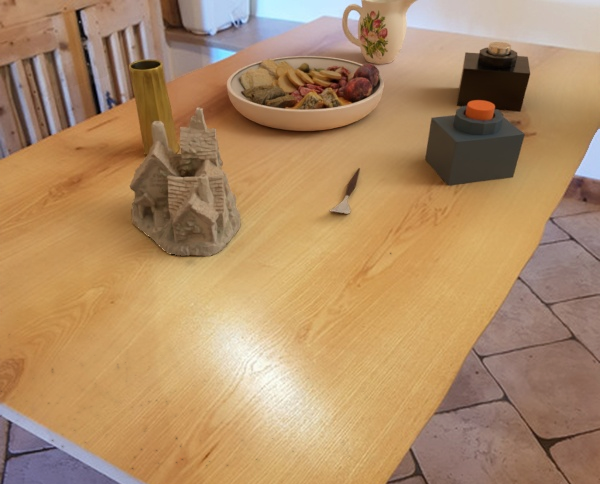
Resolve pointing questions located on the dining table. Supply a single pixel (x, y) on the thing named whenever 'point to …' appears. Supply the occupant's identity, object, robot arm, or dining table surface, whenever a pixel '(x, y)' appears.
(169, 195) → the ceramic cottage
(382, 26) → the pitcher
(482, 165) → the button housing
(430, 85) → the dining table surface
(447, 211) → the dining table surface
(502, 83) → the base unit
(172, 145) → the vase
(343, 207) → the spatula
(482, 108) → the orange push button
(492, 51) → the power button
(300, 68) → the bowl
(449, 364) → the dining table surface
